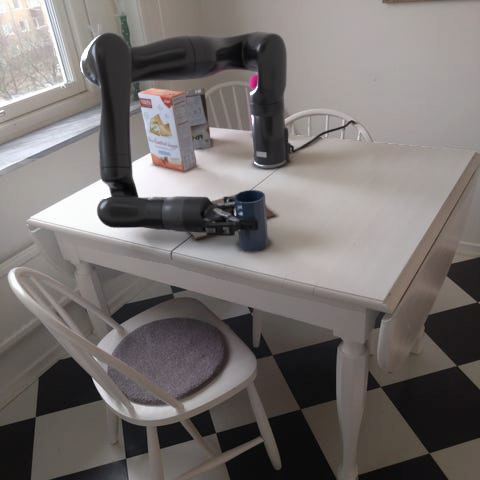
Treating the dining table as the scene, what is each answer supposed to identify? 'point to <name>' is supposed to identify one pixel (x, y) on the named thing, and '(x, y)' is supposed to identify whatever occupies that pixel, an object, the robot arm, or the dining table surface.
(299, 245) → the dining table surface
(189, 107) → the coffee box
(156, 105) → the cracker box
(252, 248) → the pen holder
